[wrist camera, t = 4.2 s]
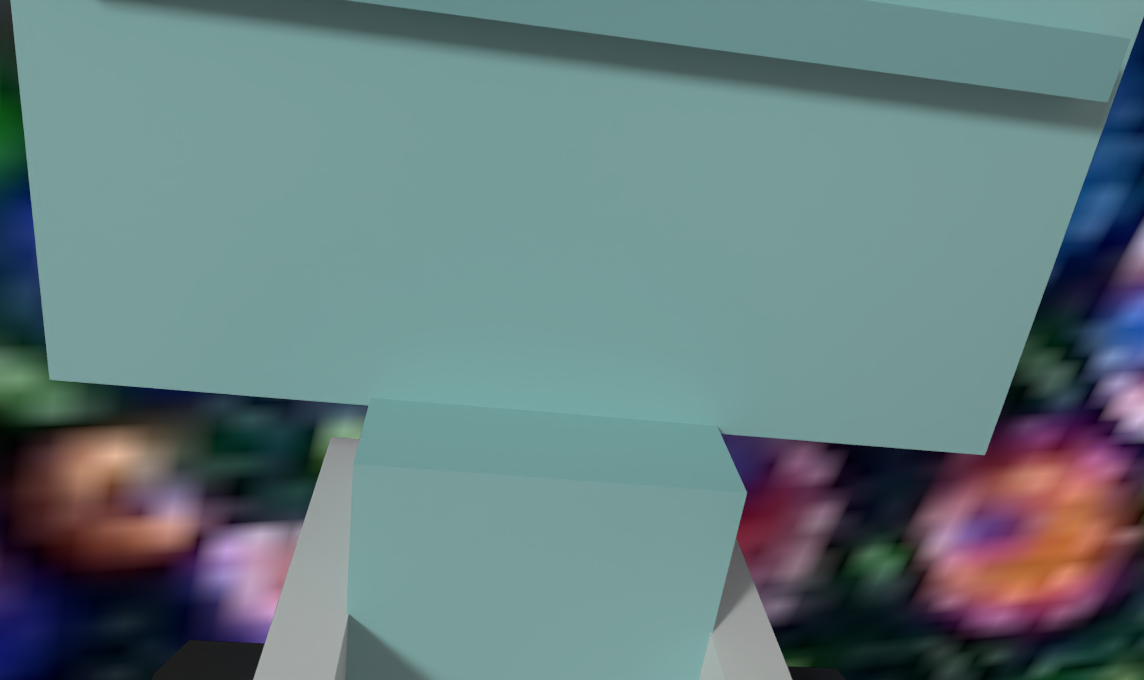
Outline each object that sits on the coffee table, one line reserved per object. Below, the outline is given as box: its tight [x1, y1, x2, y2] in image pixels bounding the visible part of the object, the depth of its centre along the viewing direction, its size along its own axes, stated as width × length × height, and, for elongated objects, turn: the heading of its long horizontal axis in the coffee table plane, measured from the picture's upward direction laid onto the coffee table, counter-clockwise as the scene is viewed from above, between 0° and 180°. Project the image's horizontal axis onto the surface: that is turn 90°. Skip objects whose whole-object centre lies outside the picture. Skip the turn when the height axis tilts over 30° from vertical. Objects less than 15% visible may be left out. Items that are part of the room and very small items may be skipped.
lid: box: [11, 0, 1144, 680], centre depth 9 cm, size 19×11×3 cm, turn 172°
